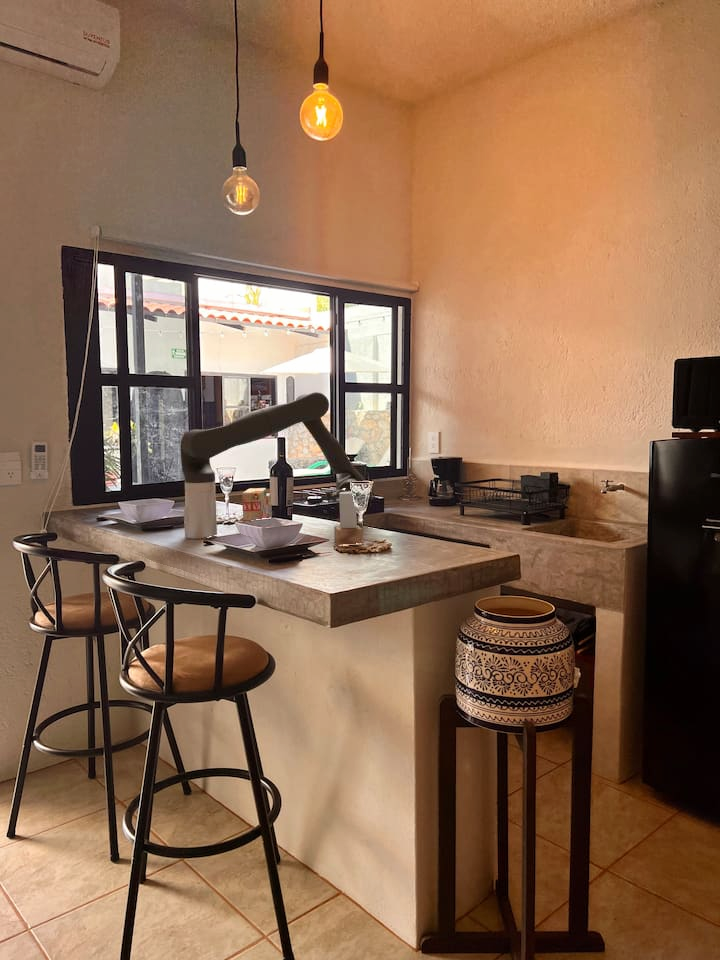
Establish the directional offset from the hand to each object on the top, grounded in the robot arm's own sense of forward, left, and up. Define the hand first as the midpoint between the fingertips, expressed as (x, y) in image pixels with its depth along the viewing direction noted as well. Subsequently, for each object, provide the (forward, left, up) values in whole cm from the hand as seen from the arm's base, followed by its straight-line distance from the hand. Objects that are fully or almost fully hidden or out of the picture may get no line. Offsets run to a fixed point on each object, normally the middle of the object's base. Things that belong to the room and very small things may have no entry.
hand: (348, 497), depth 209 cm
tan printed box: (-32, +27, -12) cm, 44 cm away
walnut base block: (0, -11, -12) cm, 16 cm away
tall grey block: (0, -10, -7) cm, 13 cm away
